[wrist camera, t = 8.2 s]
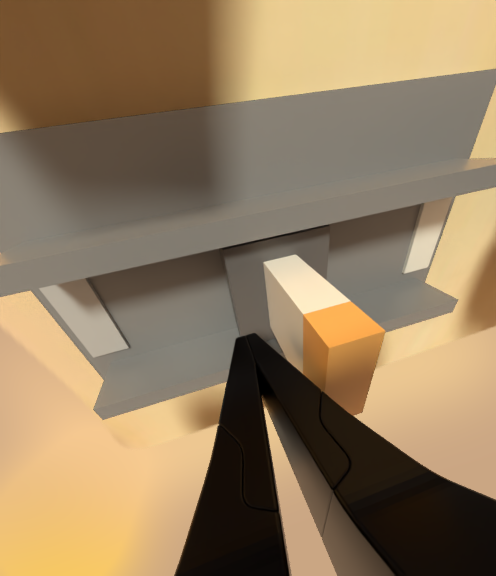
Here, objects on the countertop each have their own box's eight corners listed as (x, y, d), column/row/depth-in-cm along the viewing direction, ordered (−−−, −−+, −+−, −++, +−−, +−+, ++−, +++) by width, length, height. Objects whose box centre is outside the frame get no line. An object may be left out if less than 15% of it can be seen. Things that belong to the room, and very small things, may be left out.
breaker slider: (309, 216, 11) (454, 282, 5) (307, 305, 15) (396, 411, 8) (216, 236, 11) (259, 338, 5) (236, 325, 14) (276, 456, 8)
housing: (477, 75, 11) (603, 38, 8) (401, 313, 20) (445, 345, 16) (-59, 146, 8) (-242, 135, 4) (129, 395, 16) (115, 455, 13)
